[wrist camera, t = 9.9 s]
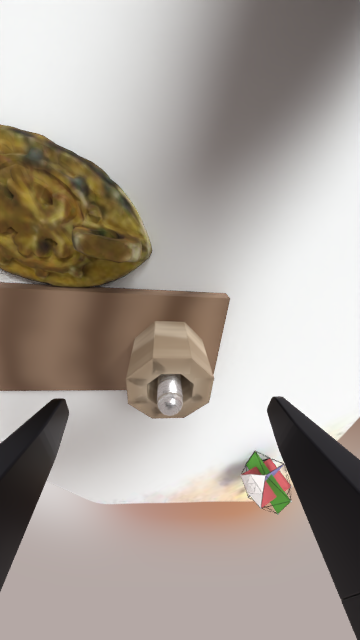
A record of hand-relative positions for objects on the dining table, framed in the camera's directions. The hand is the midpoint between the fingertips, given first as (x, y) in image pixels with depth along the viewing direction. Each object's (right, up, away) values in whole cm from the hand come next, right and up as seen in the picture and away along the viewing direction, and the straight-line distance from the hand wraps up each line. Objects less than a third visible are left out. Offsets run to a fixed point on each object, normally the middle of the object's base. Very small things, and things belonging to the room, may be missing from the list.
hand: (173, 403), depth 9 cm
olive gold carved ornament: (-9, +11, +6) cm, 16 cm away
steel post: (-1, +1, +10) cm, 10 cm away
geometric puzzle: (+13, -19, +24) cm, 33 cm away
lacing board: (-7, +2, +11) cm, 13 cm away
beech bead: (-1, +1, +10) cm, 10 cm away
